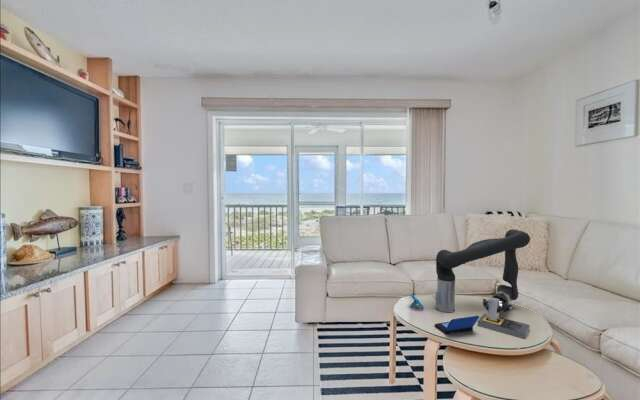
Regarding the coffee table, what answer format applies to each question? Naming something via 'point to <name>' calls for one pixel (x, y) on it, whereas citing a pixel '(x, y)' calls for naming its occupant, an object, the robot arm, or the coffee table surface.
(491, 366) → the coffee table surface
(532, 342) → the coffee table surface
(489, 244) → the robot arm
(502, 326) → the plate with square holes
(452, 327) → the handheld game console
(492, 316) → the brushed steel peg
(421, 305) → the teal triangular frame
